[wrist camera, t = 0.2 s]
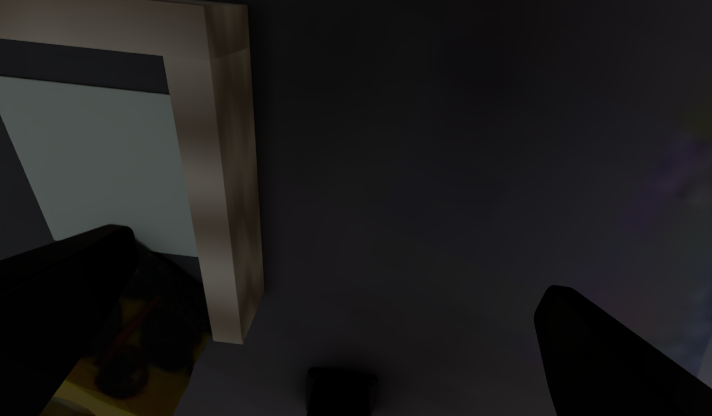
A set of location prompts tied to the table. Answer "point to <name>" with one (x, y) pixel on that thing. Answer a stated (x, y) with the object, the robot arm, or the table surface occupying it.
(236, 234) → the arena
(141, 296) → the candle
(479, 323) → the table surface
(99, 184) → the mat
